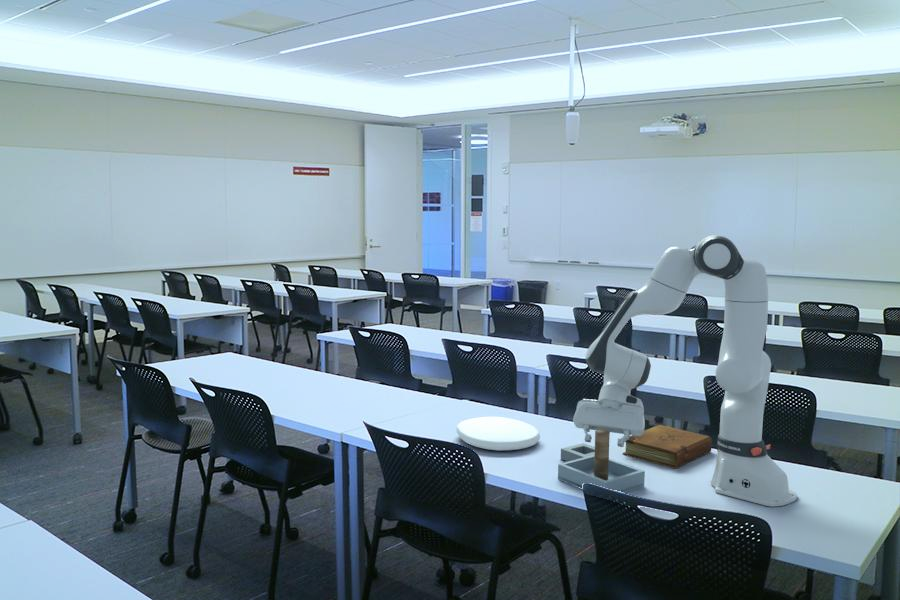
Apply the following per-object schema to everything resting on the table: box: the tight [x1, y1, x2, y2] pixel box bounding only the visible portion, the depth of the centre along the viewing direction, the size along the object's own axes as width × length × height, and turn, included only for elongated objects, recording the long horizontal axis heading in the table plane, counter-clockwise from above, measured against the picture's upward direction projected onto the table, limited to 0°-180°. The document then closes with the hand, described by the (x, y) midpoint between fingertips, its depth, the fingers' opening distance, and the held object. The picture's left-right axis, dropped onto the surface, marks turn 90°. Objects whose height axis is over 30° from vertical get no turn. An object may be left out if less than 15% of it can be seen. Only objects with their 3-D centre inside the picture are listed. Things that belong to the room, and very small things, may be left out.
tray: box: [557, 455, 646, 494], centre depth 208 cm, size 18×16×4 cm
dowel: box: [594, 430, 611, 480], centre depth 207 cm, size 4×4×14 cm
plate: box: [455, 416, 541, 452], centre depth 246 cm, size 28×6×27 cm
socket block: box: [560, 442, 595, 462], centre depth 227 cm, size 10×10×4 cm
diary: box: [622, 424, 713, 469], centre depth 235 cm, size 23×19×6 cm
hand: (603, 443), depth 208 cm, fingers open, 8 cm apart
